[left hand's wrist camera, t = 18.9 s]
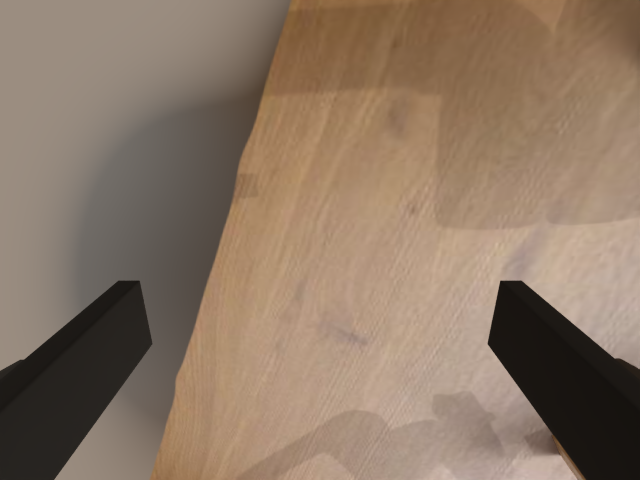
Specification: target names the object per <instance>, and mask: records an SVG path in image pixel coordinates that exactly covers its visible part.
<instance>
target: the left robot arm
mask: <svg viewBox="0 0 640 480" xmlns="http://www.w3.org/2000/svg"><path fill="white" fill-rule="evenodd" d="M151 345H152V339H151V335H150V330H149V325H148V320H147V315H146V310H145V305H144V300H143V295H142V290H141V285H140V281H118V282H116V283H115V284H114V285H113V286H112V287H110V288H109V289H108V290H107V291H106V292H105V293H103V294H102V295H101V296H100V297H99V298H97V299H96V300H95V301H94V302H93V303H91V304H90V305H89V306H88V307H87V308H85V309H84V310H83V311H82V312H81V313H79V314H78V315H77V316H76V317H75V318H73V319H72V320H71V321H70V322H69V323H67V324H66V325H65V326H64V327H63V328H61V329H60V330H59V331H58V332H57V333H55V334H54V335H53V336H52V337H51V338H50V339H48V340H47V341H46V342H45V343H44V344H42V345H41V346H40V347H39V348H38V349H36V350H35V351H34V352H33V353H32V354H30V355H29V356H28V357H27V358H26V359H24V360H19V361H17V362H15V363H14V364H12V365H10V366H8V367H6V368H5V369H3V370H1V371H0V480H54V479H55V478H56V476H57V475H58V474H59V472H60V471H61V470H62V468H63V467H64V465H65V464H66V463H67V461H68V460H69V458H70V457H71V456H72V454H73V453H74V452H75V450H76V449H77V447H78V446H79V445H80V443H81V442H82V440H83V439H84V438H85V436H86V435H87V434H88V432H89V431H90V429H91V428H92V427H93V425H94V424H95V423H96V421H97V420H98V418H99V417H100V416H101V414H102V413H103V411H104V410H105V409H106V407H107V406H108V405H109V403H110V402H111V400H112V399H113V398H114V396H115V395H116V393H117V392H118V391H119V389H120V388H121V387H122V385H123V384H124V382H125V381H126V380H127V378H128V377H129V376H130V374H131V373H132V371H133V370H134V369H135V367H136V366H137V364H138V363H139V362H140V360H141V359H142V358H143V356H144V355H145V353H146V352H147V351H148V349H149V348H150V346H151ZM488 345H489V346H490V348H491V349H492V351H493V352H494V353H495V355H496V356H497V358H498V359H499V360H500V362H501V363H502V364H503V366H504V367H505V369H506V370H507V371H508V373H509V374H510V376H511V377H512V378H513V380H514V381H515V382H516V384H517V385H518V387H519V388H520V389H521V391H522V392H523V393H524V395H525V396H526V398H527V399H528V400H529V402H530V403H531V405H532V406H533V407H534V409H535V410H536V411H537V413H538V414H539V416H540V417H541V418H542V420H543V421H544V423H545V424H546V425H547V427H548V428H549V429H550V431H551V432H552V434H553V435H554V436H555V438H556V439H557V440H558V442H559V443H560V445H561V446H562V447H563V449H564V450H565V452H566V453H567V454H568V456H569V457H570V458H571V460H572V461H573V463H574V464H575V465H576V467H577V468H578V470H579V471H580V472H581V474H582V475H583V476H584V478H585V479H586V480H640V369H638V368H636V367H635V366H633V365H631V364H629V363H627V362H625V361H624V360H622V359H614V358H613V357H612V356H611V355H610V354H608V353H607V352H606V351H605V350H604V349H602V348H601V347H600V346H599V345H598V344H596V343H595V342H594V341H593V340H592V339H590V338H589V337H588V336H587V335H586V334H585V333H583V332H582V331H581V330H580V329H579V328H577V327H576V326H575V325H574V324H573V323H571V322H570V321H569V320H568V319H567V318H565V317H564V316H563V315H562V314H561V313H559V312H558V311H557V310H556V309H555V308H553V307H552V306H551V305H550V304H549V303H547V302H546V301H545V300H544V299H543V298H541V297H540V296H539V295H538V294H537V293H536V292H534V291H533V290H532V289H531V288H530V287H528V286H527V285H526V284H525V283H524V282H522V281H500V285H499V290H498V295H497V300H496V305H495V310H494V315H493V320H492V325H491V330H490V334H489V339H488Z"/></svg>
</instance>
